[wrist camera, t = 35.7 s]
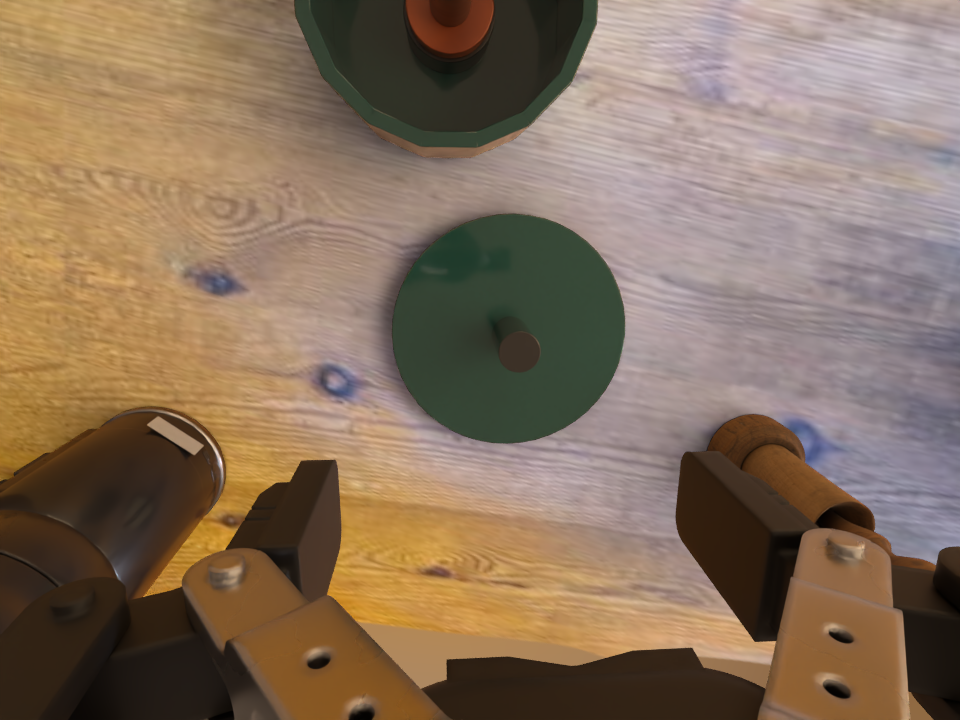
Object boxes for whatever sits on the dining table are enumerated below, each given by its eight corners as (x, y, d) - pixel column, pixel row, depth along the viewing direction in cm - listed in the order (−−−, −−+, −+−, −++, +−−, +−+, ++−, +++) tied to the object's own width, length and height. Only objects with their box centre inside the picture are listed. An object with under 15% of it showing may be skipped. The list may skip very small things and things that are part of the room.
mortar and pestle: (691, 476, 45) (848, 644, 28) (729, 401, 44) (920, 530, 26) (764, 501, 46) (959, 679, 29) (803, 429, 45) (1034, 571, 27)
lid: (396, 439, 43) (388, 476, 37) (390, 212, 39) (380, 213, 33) (612, 435, 44) (639, 472, 38) (628, 215, 40) (662, 216, 34)
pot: (329, 157, 37) (303, 145, 30) (313, -121, 34) (279, -210, 26) (562, 159, 38) (591, 149, 31) (573, -110, 35) (608, -193, 27)
